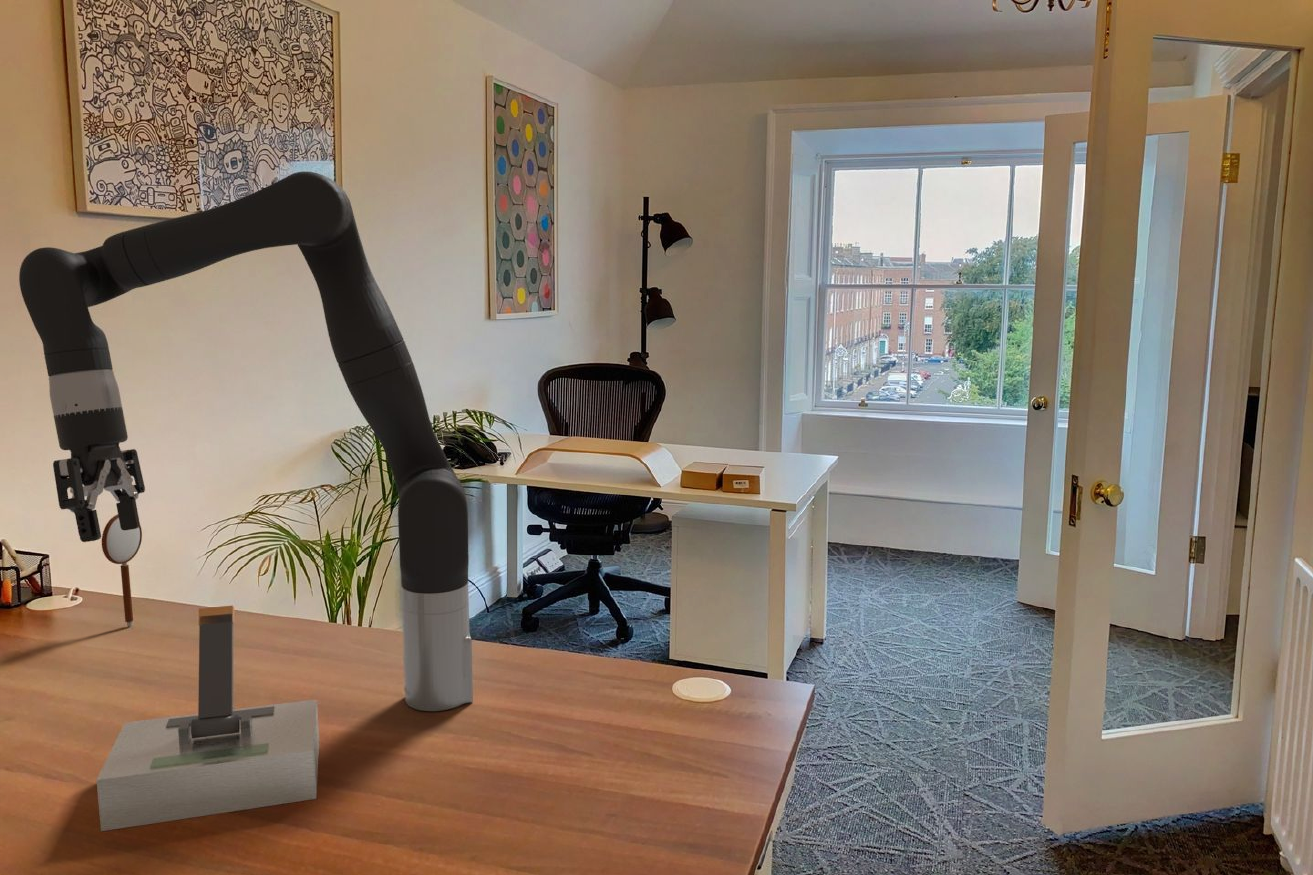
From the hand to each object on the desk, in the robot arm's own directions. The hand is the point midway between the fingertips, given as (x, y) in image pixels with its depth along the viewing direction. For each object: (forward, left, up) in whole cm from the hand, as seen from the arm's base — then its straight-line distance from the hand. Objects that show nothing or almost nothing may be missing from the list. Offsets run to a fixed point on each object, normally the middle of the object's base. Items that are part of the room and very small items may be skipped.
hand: (111, 534), depth 119 cm
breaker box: (-13, +17, -27) cm, 34 cm away
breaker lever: (-13, +18, -21) cm, 30 cm away
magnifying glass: (+8, -43, -27) cm, 51 cm away
